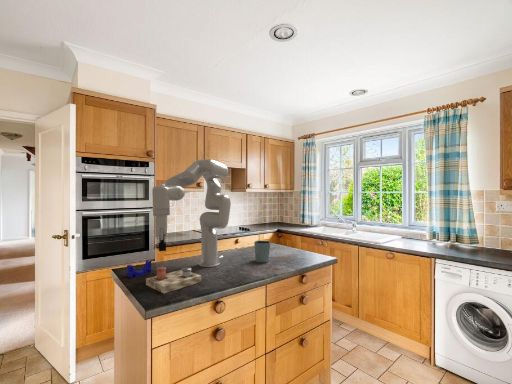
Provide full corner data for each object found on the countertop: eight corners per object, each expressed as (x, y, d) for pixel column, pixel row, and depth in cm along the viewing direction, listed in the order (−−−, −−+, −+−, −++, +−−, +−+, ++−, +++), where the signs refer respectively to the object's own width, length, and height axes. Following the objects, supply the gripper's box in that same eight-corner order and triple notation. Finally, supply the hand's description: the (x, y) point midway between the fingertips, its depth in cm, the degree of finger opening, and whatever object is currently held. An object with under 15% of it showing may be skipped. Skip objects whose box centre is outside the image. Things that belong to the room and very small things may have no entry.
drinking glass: (251, 260, 172) (251, 241, 172) (262, 257, 179) (262, 239, 178) (261, 263, 164) (262, 244, 164) (273, 260, 171) (273, 241, 171)
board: (182, 274, 142) (182, 269, 142) (201, 281, 132) (201, 275, 132) (146, 284, 127) (146, 278, 127) (163, 293, 117) (163, 286, 117)
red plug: (163, 279, 131) (163, 266, 131) (168, 281, 128) (168, 268, 128) (154, 281, 128) (154, 268, 128) (159, 283, 125) (159, 270, 125)
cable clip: (131, 278, 137) (131, 266, 137) (126, 276, 140) (126, 265, 140) (152, 272, 147) (152, 261, 147) (148, 271, 150) (148, 260, 149)
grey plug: (187, 279, 135) (187, 266, 135) (193, 281, 132) (193, 268, 132) (179, 281, 131) (179, 268, 131) (185, 283, 128) (185, 270, 128)
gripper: (153, 211, 134) (154, 247, 134) (151, 214, 119) (153, 255, 120) (169, 210, 136) (170, 246, 137) (169, 213, 122) (170, 253, 122)
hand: (162, 250), depth 128 cm, fingers closed
